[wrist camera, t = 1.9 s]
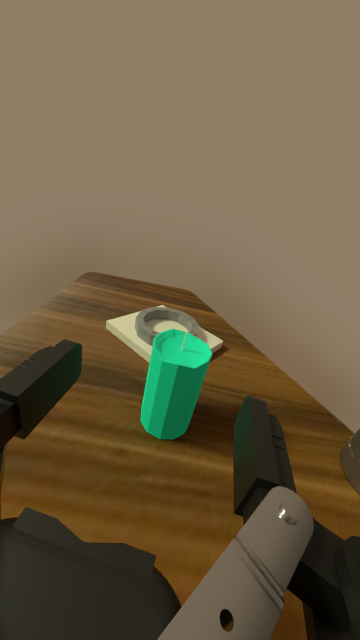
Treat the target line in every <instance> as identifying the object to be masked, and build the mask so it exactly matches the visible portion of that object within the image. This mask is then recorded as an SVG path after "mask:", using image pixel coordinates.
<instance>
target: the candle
mask: <svg viewBox="0 0 360 640" xmlns="http://www.w3.org/2000/svg"><path fill="white" fill-rule="evenodd" d="M211 357H212V352H211V350H210V347H209V345H208V344H206V343H205V342H203V341H202V340H201V339H199V338H197V337H195V336H193V335H191V334H189V333H187V332H184V331H181V330H177V329H170V330H167V331H163V332H161V333H159V334H158V335H157V336H156V337H155V338H154V340H153V346H152V352H151V358H150V363H149V369H148V375H147V380H146V386H145V392H144V397H143V403H142V409H141V423H142V424H143V426H144V428H145V429H146V431H147V432H148V433H150V434H151V435H153V436H155V437H157V438H159V439H175V438H177V437H179V436H181V435H183V434H184V433H185V432H186V430H187V428H188V426H189V424H190V421H191V418H192V415H193V412H194V408H195V405H196V402H197V399H198V396H199V393H200V390H201V387H202V384H203V381H204V378H205V375H206V372H207V369H208V366H209V363H210V360H211Z"/></svg>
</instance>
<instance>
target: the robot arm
mask: <svg viewBox="0 0 360 640" xmlns="http://www.w3.org/2000/svg"><path fill="white" fill-rule="evenodd" d="M81 364H82V346H81V344H79V343H76V342H72V341H69V340H66V339H65V340H62V341H61V342H60V343H58V344H57V345H56V346H54V347H51V346H50V347H47V348H44V349H42V350H39V351H37V352H36V353H35V354H33V355H32V356H31V357H29V359H28V360H25V361H24V362H23V363H21V365H19V366H17V367H16V368H14V369H13V370H12V371H10V372H9V373H8V374H6V375H5V376H4V377H2V378H1V379H0V640H269V638H270V636H271V634H272V632H273V630H274V628H275V625H276V623H277V621H278V619H279V617H280V614H281V612H282V609H283V606H284V599H283V595H284V592H285V590H286V588H287V589H288V590H289V591H290V592H292V593H293V594H294V595H295V596H297V597H298V598H299V599H300V600H301V601H302V603H303V610H304V617H305V624H306V632H307V639H308V640H360V537H357V536H352V537H349V538H348V539H346V540H345V541H344V540H343V539H341V538H340V537H338V536H337V535H336V534H334V533H333V532H331V531H330V530H328V529H327V528H325V527H324V526H322V525H321V524H320V523H318V522H317V521H316V520H315V519H314V518H313V517H312V515H311V513H310V510H309V508H308V507H307V505H306V504H305V502H304V501H303V500H302V499H301V498H300V497H299V496H298V495H297V492H296V489H295V484H294V480H293V475H292V471H291V466H290V462H289V457H288V453H287V451H286V444H285V441H284V435H283V431H282V427H281V425H280V424H279V422H278V421H277V419H276V417H275V416H273V415H270V414H268V412H267V406H266V402H265V400H262V399H258V398H255V397H252V396H247V397H246V398H245V401H244V403H243V405H242V407H241V409H240V411H239V413H238V415H237V418H236V420H235V424H234V431H233V445H234V514H237V515H240V516H243V524H244V526H243V527H242V529H241V530H240V531H239V533H238V534H237V535H236V537H235V538H234V539H233V540H232V541H231V543H230V544H229V545H228V547H227V548H226V549H225V551H224V552H223V553H222V555H221V556H220V557H219V559H218V560H217V561H216V562H215V564H214V565H213V566H212V568H211V569H210V570H209V572H208V573H207V574H206V576H205V577H204V578H203V580H202V581H201V582H200V584H199V585H198V586H197V588H196V589H195V590H194V592H193V593H192V594H191V596H190V597H189V598H188V600H187V601H186V602H185V604H184V605H183V606H182V607H181V604H180V602H179V599H178V597H177V596H176V594H175V592H174V590H173V588H172V587H171V585H170V584H169V582H168V581H167V579H166V578H165V577H164V576H163V575H162V574H161V573H160V571H158V570H157V569H156V568H155V567H154V562H155V558H156V555H154V554H151V553H148V552H145V551H143V550H140V549H137V548H135V547H132V546H129V545H127V544H124V543H87V542H83V541H82V540H80V539H79V538H78V537H77V536H76V535H75V534H74V533H72V532H71V531H70V530H69V529H68V528H67V527H66V526H65V525H63V524H62V523H61V522H60V521H59V520H58V519H57V518H54V517H51V516H49V515H46V514H43V513H41V512H38V511H35V510H33V509H30V508H27V507H25V509H24V510H23V512H22V513H21V515H20V516H19V517H15V518H7V519H2V520H1V489H2V482H3V475H4V468H5V460H6V453H7V443H8V441H9V440H10V439H11V438H12V437H13V436H15V437H18V438H21V439H25V438H26V437H27V436H28V435H29V434H30V432H31V431H32V430H33V429H34V428H35V427H36V426H37V425H38V424H39V422H40V421H41V420H42V419H43V418H44V417H45V416H46V415H47V413H48V412H49V411H50V410H51V409H52V408H53V407H54V406H55V405H56V403H57V402H58V401H59V400H60V399H61V398H62V397H63V396H64V394H65V393H66V392H67V391H68V390H69V389H70V388H71V387H72V385H73V384H74V383H75V382H76V381H77V379H78V378H79V376H80V373H81ZM341 463H342V466H343V469H344V471H345V473H346V475H347V477H348V479H349V480H350V482H351V484H352V485H353V486H354V487H355V489H356V490H357V491H358V493H359V494H360V428H359V430H358V431H357V432H356V433H355V434H354V435H353V436H352V437H351V438H350V440H349V441H348V443H347V444H346V445H345V446H344V447H343V449H342V451H341Z"/></svg>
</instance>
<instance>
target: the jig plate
mask: <svg viewBox="0 0 360 640" xmlns="http://www.w3.org/2000/svg"><path fill="white" fill-rule="evenodd" d="M106 328H107V329H108V330H109V331H110V332H112V333H113V334H114V335H115V336H117V337H118V338H119V339H120V340H122V341H123V342H124V343H125V344H126V345H128V346H129V347H130V348H131V349H133V350H134V351H135V352H136V353H138V354H139V355H140V356H141V357H143V358H144V359H145V360H146V361H147V362H149V363H150V358H151V352H152V346H153V340H154V338H155V337H156V336H157V335H158V334H159V333H161V332H163V331H167V330H170V329H177V330H181V331H184V332H187V333H189V334H191V335H193V336H195V337H197V338H199V339H201V340H202V341H203V342H205V343H206V344H208V345H209V347H210V350H211V352H212V353H214V352H215V351H217V350H219V349H220V348H221V347H222V344H223V341H222V340H221V339H219V338H217V337H216V336H214V335H212V334H210V333H209V332H207V331H205V330H204V329H202V328H200V327H199V325H198V324H197V322H196V321H195V319H194V318H193V317H191V316H189V315H187V314H186V313H184V312H182V311H179V310H175V309H171V308H168V307H165V306H163V305H161V306H158V307H152V308H148V309H144V310H141V311H140V312H136V313H133V314H129V315H126V316H122V317H119V318H115V319H111V320H108V321H107V322H106Z"/></svg>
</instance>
